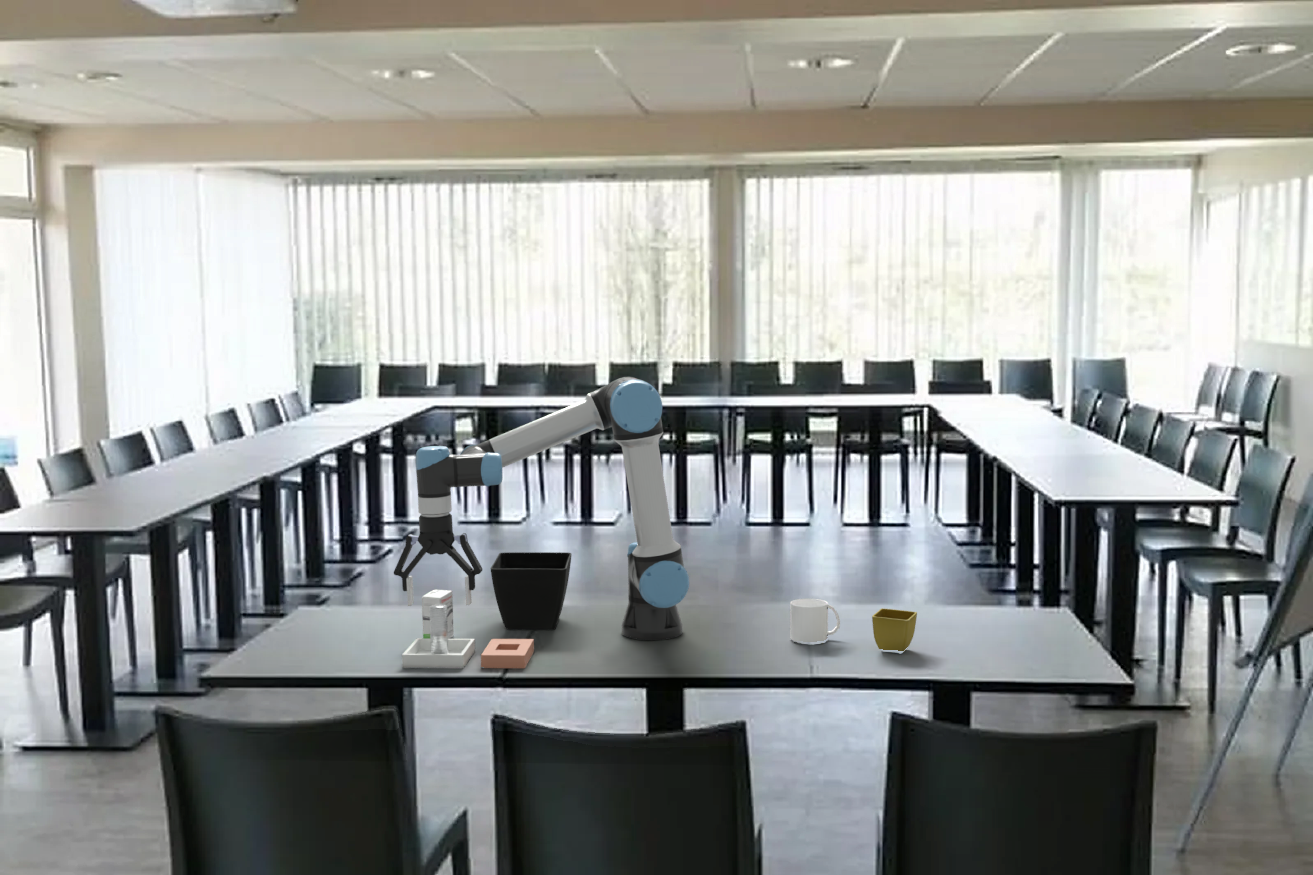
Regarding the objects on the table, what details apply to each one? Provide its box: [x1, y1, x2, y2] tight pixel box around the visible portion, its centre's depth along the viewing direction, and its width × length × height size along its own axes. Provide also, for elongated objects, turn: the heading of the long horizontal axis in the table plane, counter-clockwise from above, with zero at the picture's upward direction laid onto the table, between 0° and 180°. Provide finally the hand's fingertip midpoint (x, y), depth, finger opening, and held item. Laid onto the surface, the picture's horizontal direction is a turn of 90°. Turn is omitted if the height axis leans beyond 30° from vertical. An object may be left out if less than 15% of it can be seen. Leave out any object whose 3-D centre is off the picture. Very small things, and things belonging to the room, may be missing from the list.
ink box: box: [421, 589, 454, 639], centre depth 329 cm, size 9×5×12 cm, turn 167°
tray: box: [401, 637, 476, 669], centre depth 313 cm, size 14×14×3 cm
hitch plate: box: [480, 638, 535, 669], centre depth 312 cm, size 10×14×3 cm
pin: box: [429, 605, 448, 654], centre depth 312 cm, size 4×4×12 cm
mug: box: [789, 598, 841, 642], centre depth 326 cm, size 12×9×9 cm
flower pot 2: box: [871, 608, 918, 652], centre depth 316 cm, size 9×9×9 cm
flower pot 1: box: [490, 551, 573, 631], centre depth 344 cm, size 19×19×17 cm
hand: (439, 604), depth 312 cm, fingers open, 13 cm apart
